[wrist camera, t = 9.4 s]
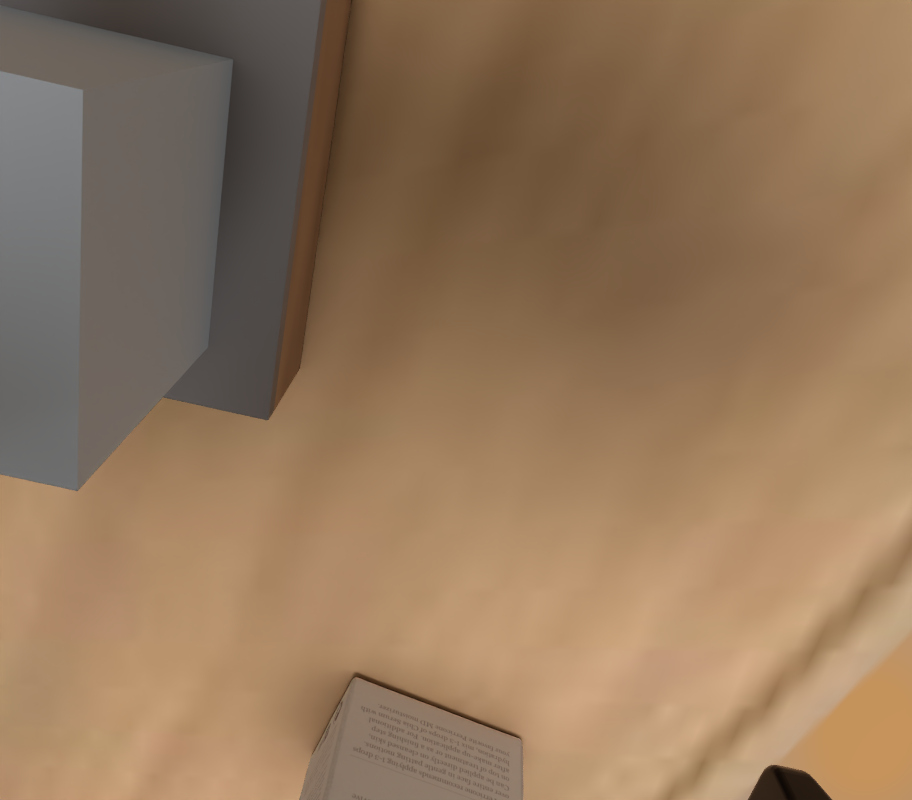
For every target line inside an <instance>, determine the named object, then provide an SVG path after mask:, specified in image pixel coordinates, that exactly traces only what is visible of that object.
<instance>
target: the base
mask: <svg viewBox="0 0 912 800" xmlns="http://www.w3.org/2000/svg"><path fill="white" fill-rule="evenodd" d="M0 5H1V6H5V7H10V8H14V9H18V10H23V11H27V12H31V13H36V14H40V15H44V16H48V17H53V18H57V19H61V20H66V21H70V22H74V23H79V24H83V25H87V26H92V27H96V28H100V29H105V30H109V31H113V32H117V33H122V34H126V35H130V36H135V37H139V38H143V39H148V40H152V41H156V42H161V43H165V44H169V45H174V46H178V47H182V48H187V49H191V50H195V51H199V52H204V53H208V54H212V55H217V56H221V57H225V58H230V59H233V68H232V79H231V91H230V102H229V114H228V125H227V136H226V148H225V159H224V171H223V182H222V194H221V205H220V217H219V228H218V239H217V251H216V262H215V274H214V285H213V297H212V308H211V320H210V331H209V342H208V348H207V349H206V350H205V351H204V352H203V353H202V354H201V356H200V357H199V358H198V359H197V360H196V361H195V362H194V363H193V364H192V365H191V367H190V368H189V369H188V370H187V371H186V372H185V373H184V374H183V375H182V376H181V378H180V379H179V380H178V381H177V382H176V383H175V384H174V385H173V386H172V387H171V389H170V390H169V391H168V392H167V393H166V394H165V395H164V396H163V397H164V398H169V399H173V400H178V401H182V402H187V403H192V404H196V405H201V406H205V407H210V408H214V409H219V410H223V411H228V412H232V413H237V414H241V415H246V416H250V417H255V418H259V419H264V420H269V418H270V416H271V415H272V413H273V411H274V410H275V408H276V406H277V405H278V403H279V402H280V400H281V398H282V397H283V395H284V393H285V392H286V390H287V388H288V387H289V385H290V383H291V382H292V380H293V378H294V377H295V375H296V374H297V372H298V370H299V369H300V362H301V355H302V348H303V341H304V334H305V327H306V320H307V313H308V306H309V298H310V291H311V284H312V277H313V270H314V263H315V256H316V249H317V242H318V235H319V227H320V220H321V213H322V206H323V199H324V192H325V185H326V178H327V171H328V164H329V156H330V149H331V142H332V135H333V128H334V121H335V114H336V107H337V100H338V93H339V86H340V78H341V71H342V64H343V57H344V50H345V43H346V36H347V29H348V22H349V15H350V7H351V0H0Z"/></svg>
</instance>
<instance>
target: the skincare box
mask: <svg viewBox="0 0 912 800" xmlns="http://www.w3.org/2000/svg"><path fill="white" fill-rule="evenodd" d="M299 800H523V747H522V741H521V740H520V739H519V738H516V737H514V736H511V735H508V734H505V733H503V732H500V731H497V730H494V729H492V728H489V727H486V726H484V725H481V724H479V723H476V722H473V721H471V720H468V719H465V718H463V717H460V716H458V715H455V714H452V713H450V712H447V711H444V710H442V709H439V708H436V707H434V706H431V705H428V704H426V703H423V702H420V701H418V700H415V699H412V698H410V697H407V696H404V695H402V694H399V693H396V692H394V691H391V690H389V689H386V688H383V687H381V686H378V685H376V684H373V683H370V682H368V681H365V680H363V679H361V678H358V677H355V678H353V679H352V681H351V683H350V685H349V687H348V689H347V690H346V692H345V694H344V696H343V698H342V700H341V702H340V703H339V705H338V707H337V709H336V711H335V712H334V714H333V716H332V718H331V720H330V722H329V724H328V726H327V728H326V730H325V732H324V734H323V736H322V738H321V740H320V742H319V744H318V746H317V747H316V749H315V751H314V753H313V754H312V756H311V759H310V762H309V765H308V769H307V772H306V776H305V780H304V784H303V788H302V792H301V796H300V799H299Z"/></svg>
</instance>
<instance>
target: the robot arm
mask: <svg viewBox="0 0 912 800" xmlns="http://www.w3.org/2000/svg"><path fill="white" fill-rule="evenodd" d="M748 800H832V799H831V798H830V797H829V796H828V795H827V793H826V792H825V791H824V790H823V789H822V788H821V786H820V785H819V784H818V783H817V782H816V781H815V780H814V779H813V778H812V777H811V776H810V775H809V774H807V773H806V772H804V771H801V770H796V769H792V768H788V767H783V766H778V765H770V766H768V767H767V768H766V769H765V770H764V771H763V773H762V774H761V776H760V778H759V780H758V782H757V784H756V786H755V787H754V789H753V791H752V793H751V795H750V797H749V799H748Z"/></svg>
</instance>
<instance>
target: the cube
mask: <svg viewBox="0 0 912 800" xmlns="http://www.w3.org/2000/svg"><path fill="white" fill-rule="evenodd" d="M232 68H233V59H230V58H225V57H221V56H217V55H212V54H208V53H204V52H199V51H195V50H191V49H187V48H182V47H178V46H174V45H169V44H165V43H161V42H156V41H152V40H148V39H143V38H139V37H135V36H130V35H126V34H122V33H117V32H113V31H109V30H105V29H100V28H96V27H92V26H87V25H83V24H79V23H74V22H70V21H66V20H61V19H57V18H53V17H48V16H44V15H40V14H36V13H31V12H27V11H23V10H18V9H14V8H10V7H5V6H1V5H0V474H2V475H6V476H11V477H15V478H20V479H25V480H29V481H34V482H38V483H43V484H47V485H52V486H57V487H61V488H66V489H70V490H75V491H78V490H79V489H80V488H81V487H82V485H83V484H84V483H85V482H86V481H87V480H88V479H89V478H90V477H91V476H92V474H93V473H94V472H95V471H96V470H97V469H98V468H99V467H100V466H101V465H102V463H103V462H104V461H105V460H106V459H107V458H108V457H109V456H110V455H111V454H112V452H113V451H114V450H115V449H116V448H117V447H118V446H119V445H120V444H121V443H122V441H123V440H124V439H125V438H126V437H127V436H128V435H129V434H130V433H131V432H132V430H133V429H134V428H135V427H136V426H137V425H138V424H139V423H140V422H141V421H142V419H143V418H144V417H145V416H146V415H147V414H148V413H149V412H150V411H151V409H152V408H153V407H154V406H155V405H156V404H157V403H158V402H159V401H160V400H161V398H162V397H163V396H164V395H165V394H166V393H167V392H168V391H169V390H170V389H171V387H172V386H173V385H174V384H175V383H176V382H177V381H178V380H179V379H180V378H181V376H182V375H183V374H184V373H185V372H186V371H187V370H188V369H189V368H190V367H191V365H192V364H193V363H194V362H195V361H196V360H197V359H198V358H199V357H200V356H201V354H202V353H203V352H204V351H205V350H206V349H207V348H208V342H209V331H210V320H211V308H212V297H213V285H214V274H215V262H216V251H217V239H218V228H219V217H220V205H221V194H222V182H223V171H224V159H225V148H226V136H227V125H228V114H229V102H230V91H231V79H232Z"/></svg>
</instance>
